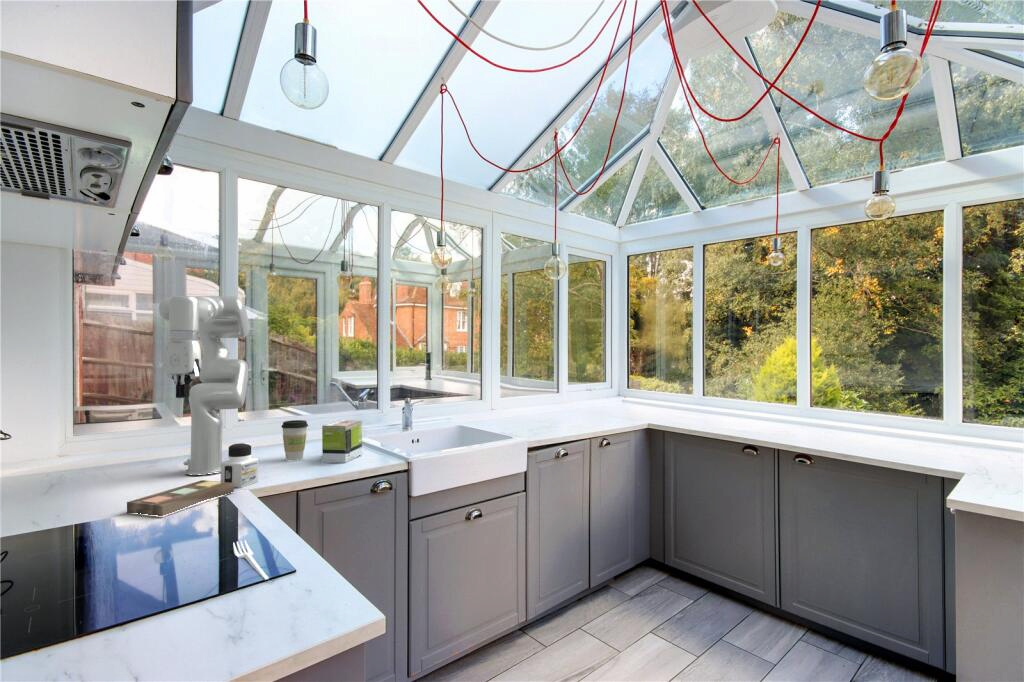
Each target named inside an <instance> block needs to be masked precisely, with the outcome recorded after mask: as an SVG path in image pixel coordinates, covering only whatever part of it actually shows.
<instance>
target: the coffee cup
mask: <svg viewBox="0 0 1024 682" xmlns="http://www.w3.org/2000/svg"><path fill="white" fill-rule="evenodd" d="M280 427H281V428H282V440H283V441H282V442H283V448H284V449H283V450H284V454H285V460H286V459H287V460H297V459H302V458H303V459H304V451H305V447H306V440H307V433H308V432H307V430H308V429H307V428H308V427H309V425H308V422H307V420H302V419H299V420H298V419H295V420H294V419H293V420H285V421H283V422H282V425H281V426H280ZM303 459H302V460H303ZM287 460H286V461H287ZM297 461H298V460H297Z"/></svg>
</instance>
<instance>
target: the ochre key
mask: <svg viewBox="0 0 1024 682" xmlns="http://www.w3.org/2000/svg"><path fill="white" fill-rule="evenodd" d="M206 481H207V482H204V483H200V484H197V485H195V486H196V487H207V488H208V487H211V486H214V485H218V484H221V481H217V482H213V481H214V480H206Z"/></svg>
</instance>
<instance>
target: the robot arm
mask: <svg viewBox="0 0 1024 682" xmlns="http://www.w3.org/2000/svg"><path fill="white" fill-rule="evenodd" d="M158 313H159V316H160V317H161V319H163V320H164V321H166V322H168V335H167V336H168V340H167V341H166V343H165V347H164V351H163V361H162V372H163V373H164V374H165V375H166V374H167V375H166V377H167V378H168V379H172V380H173V383H174V385H175V398H176V399H184V398H185V399H186V398H188V402H189V407H190V408H189V409H190V419H191V420H190V421H191V423H190V425H191V426H190V458H188V459H187V460H185V461H184V462H183V465H184V466H187V467H188V468H186V469H185V471H184V474H185V473H186V474H192V475H198V474H208V473H214V472H221V463H222V462H223V420H222V418H221V416H220V415H219V414H218V412H216V411H217V410H235V409H240V408H242V407H243V405H244V403H245V401H246V395H247V387H248V382H249V381H248V380H249V372H250V371H249V366H248V362H246V361H245V360H243V359H240V358H239V359H238V358H230V354H231V353H230V350H229V348H228V347H227V346H226V344H225V343H224V342H222V341H221V340H219V339H244V338H246V337H247V336H249V333H250V328H251V327H250V320H249V317H248V313H247V310H246V306H245V304H244V302H243V300H242V299H241V298H240V297H237V296H223V295H222V296H221V295H201V296H200V295H198V296H196V295H194V296H191V295H174V296H172V297H164V298H163V299H161V301H160V302H159V304H158ZM199 339H200V341H199ZM200 343H201V344H200ZM201 345H202V348H203V354H202V349H201ZM198 378H199V380H200V382H201V383H197V384H195V385H193V386H190V385H191V384H192V381H193V380H195V379H198ZM190 387H191V388H190ZM186 474H185V475H186Z"/></svg>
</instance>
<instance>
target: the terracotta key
mask: <svg viewBox="0 0 1024 682" xmlns="http://www.w3.org/2000/svg"><path fill="white" fill-rule="evenodd" d="M170 499H173V497H165V496H157V497H153V498H150V499H147V500H143V501H142V503H151V504H157V503H160V502H163V501H167V500H170Z"/></svg>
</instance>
